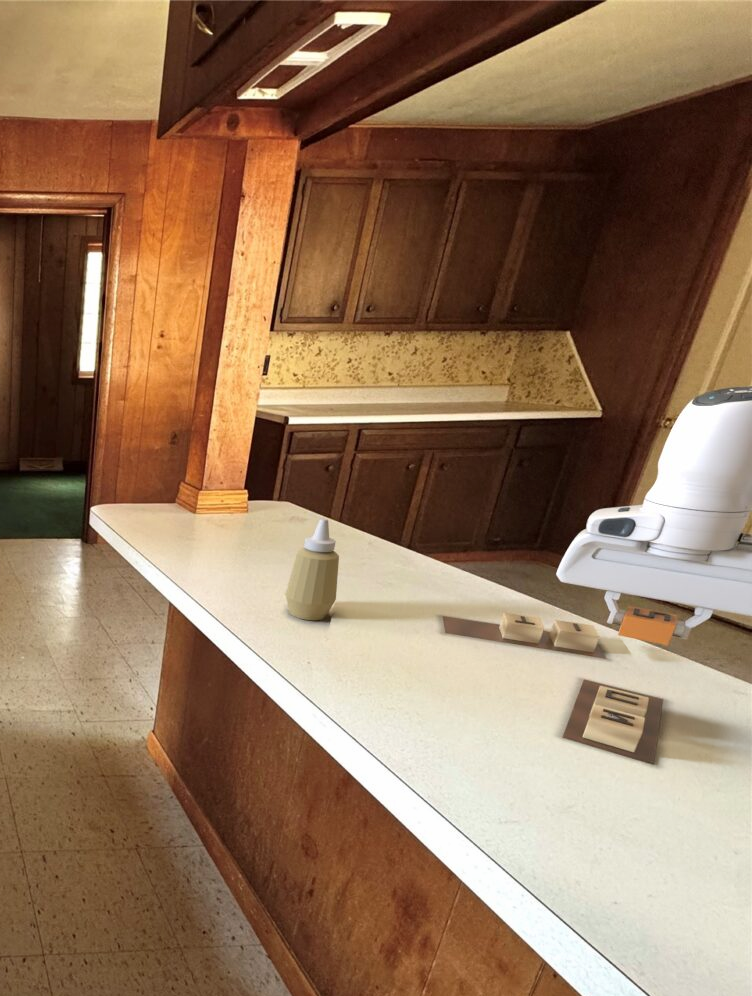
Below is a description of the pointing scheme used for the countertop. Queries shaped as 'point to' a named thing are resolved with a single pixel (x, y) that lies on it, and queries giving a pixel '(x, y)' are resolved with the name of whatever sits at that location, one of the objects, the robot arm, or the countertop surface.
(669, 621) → the s tile
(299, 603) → the squeeze bottle
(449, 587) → the countertop surface
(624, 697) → the front rack
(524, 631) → the back rack
